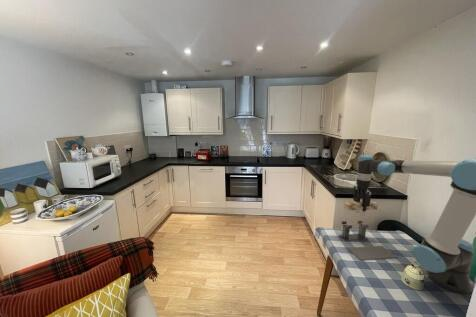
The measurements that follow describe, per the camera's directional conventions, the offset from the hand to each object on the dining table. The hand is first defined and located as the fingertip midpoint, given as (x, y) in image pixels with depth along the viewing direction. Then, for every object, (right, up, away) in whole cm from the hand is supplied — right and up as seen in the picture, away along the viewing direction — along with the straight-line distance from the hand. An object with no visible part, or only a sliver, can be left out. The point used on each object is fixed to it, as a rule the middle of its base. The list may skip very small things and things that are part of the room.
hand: (359, 213), depth 128 cm
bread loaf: (0, +4, 0) cm, 4 cm away
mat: (+1, -21, -10) cm, 23 cm away
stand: (-1, -18, +6) cm, 19 cm away
